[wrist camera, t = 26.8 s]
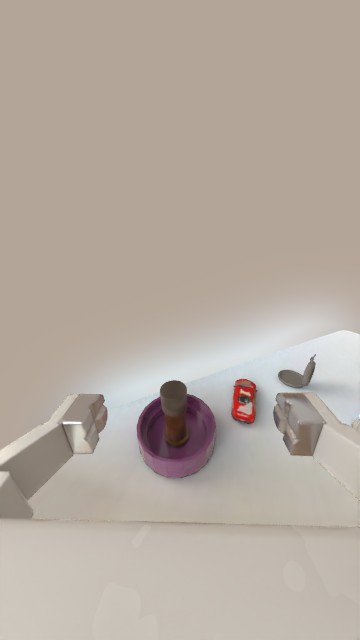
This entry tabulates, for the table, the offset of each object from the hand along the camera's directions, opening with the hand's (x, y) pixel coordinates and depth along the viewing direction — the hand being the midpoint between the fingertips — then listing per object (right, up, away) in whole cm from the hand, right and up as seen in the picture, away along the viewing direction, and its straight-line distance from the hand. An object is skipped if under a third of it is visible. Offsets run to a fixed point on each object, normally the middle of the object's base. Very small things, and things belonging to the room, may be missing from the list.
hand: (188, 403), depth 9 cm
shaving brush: (-1, -20, +30) cm, 36 cm away
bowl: (-1, -20, +30) cm, 36 cm away
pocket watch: (+32, -14, +43) cm, 55 cm away
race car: (+15, -17, +38) cm, 44 cm away
